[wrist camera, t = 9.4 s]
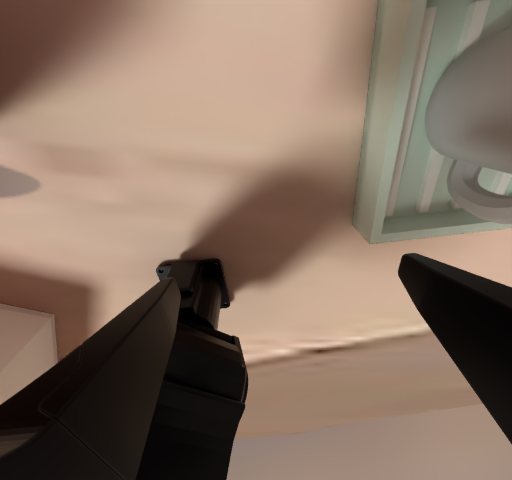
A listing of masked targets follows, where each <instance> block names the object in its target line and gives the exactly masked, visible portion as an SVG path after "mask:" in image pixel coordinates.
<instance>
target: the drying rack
mask: <svg viewBox="0 0 512 480" xmlns="http://www.w3.org/2000/svg"><path fill="white" fill-rule="evenodd" d="M510 28H512V0H379V1H378V10H377V18H376V27H375V35H374V44H373V52H372V61H371V69H370V78H369V86H368V95H367V103H366V112H365V120H364V129H363V137H362V146H361V155H360V163H359V172H358V180H357V189H356V197H355V206H354V214H353V223H352V225H353V226H354V227H355V228H356V230H357V231H358V232H359V233H360V234H361V235H362V236H363V237H364V238H365V239H366V241H367V242H368V243H369V244H375V243H383V242H392V241H401V240H410V239H419V238H428V237H437V236H446V235H455V234H464V233H472V232H481V231H490V230H499V229H508V228H512V224H499V223H495V222H491V221H486V220H483V219H481V218H479V217H476V216H474V215H472V214H470V213H468V212H467V211H466V210H465V209H463V208H462V207H461V206H460V205H458V204H457V203H456V202H455V201H454V200H453V199H452V197H451V195H450V194H449V192H448V188H447V176H448V173H449V169H450V167H451V165H452V163H453V161H454V159H451V158H449V157H446V156H443V155H440V154H439V153H438V152H437V151H435V150H434V149H433V148H432V147H431V145H430V143H429V141H428V139H427V135H426V128H425V116H426V108H427V105H428V102H429V100H430V97H431V94H432V92H433V90H434V88H435V87H436V85H437V83H438V81H439V80H440V78H441V77H442V75H443V74H444V73H445V71H446V70H447V69H448V68H449V67H450V65H451V64H452V63H453V62H454V60H455V59H456V58H458V57H459V56H460V55H461V54H462V53H463V52H465V51H466V50H467V49H468V48H469V47H470V46H472V45H474V44H475V43H477V42H479V41H480V40H482V39H484V38H486V37H487V36H490V35H492V34H495V33H498V32H500V31H504V30H507V29H510ZM478 182H479V185H480V186H481V187H482V188H484V189H486V190H487V191H490V192H493V193H496V194H500V195H507V196H512V174H509V173H505V172H501V171H497V170H493V169H489V168H485V167H483V168H482V170H481V171H480V173H479V176H478Z"/></svg>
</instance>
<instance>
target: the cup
mask: <svg viewBox="0 0 512 480" xmlns="http://www.w3.org/2000/svg"><path fill="white" fill-rule="evenodd" d="M425 128H426V135H427V139H428V141H429V143H430V145H431V147H432V148H433V149H434V150H435V151H437V152H438V153H439V154H440V155H443V156H446V157H449V158H451V159H454V161H453V163H452V165H451V167H450V169H449V173H448V176H447V188H448V192H449V194H450V195H451V197H452V199H453V200H454V201H455V202H456V203H457V204H458V205H460V206H461V207H462V208H463V209H465V210H466V211H467V212H468V213H470V214H472V215H474V216H476V217H479V218H481V219H483V220H486V221H491V222H495V223H499V224H512V196H507V195H500V194H496V193H493V192H490V191H487V190H486V189H484V188H482V187H481V186H480V185H479V182H478V176H479V173H480V171H481V170H482V168H483V167H485V168H489V169H493V170H497V171H501V172H505V173H509V174H512V28H510V29H507V30H504V31H500V32H498V33H495V34H492V35H490V36H487V37H486V38H484V39H482V40H480V41H479V42H477V43H475V44H474V45H472V46H470V47H469V48H468V49H467V50H466V51H465V52H463V53H462V54H461V55H460V56H459V57H458V58H456V59H455V60H454V62H453V63H452V64H451V65H450V67H449V68H448V69H447V70H446V71H445V73H444V74H443V75H442V77H441V78H440V80H439V81H438V83H437V85H436V87H435V88H434V90H433V92H432V94H431V97H430V100H429V102H428V105H427V108H426V116H425Z"/></svg>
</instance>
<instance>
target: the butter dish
mask: <svg viewBox="0 0 512 480" xmlns="http://www.w3.org/2000/svg"><path fill="white" fill-rule="evenodd" d="M57 363H58V357H57V343H56V330H55V317H54V314H50V313H45V312H40V311H35V310H30V309H25V308H20V307H15V306H10V305H5V304H0V405H1V404H2V403H3V402H5V401H6V400H8V399H9V398H10V397H12V396H13V395H14V394H16V393H17V392H19V391H20V390H21V389H23V388H24V387H26V386H27V385H28V384H30V383H31V382H32V381H34V380H35V379H37V378H38V377H39V376H41V375H42V374H43V373H45V372H46V371H47V370H49V369H50V368H51V367H53V366H54V365H55V364H57Z"/></svg>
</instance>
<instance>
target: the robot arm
mask: <svg viewBox="0 0 512 480" xmlns="http://www.w3.org/2000/svg"><path fill="white" fill-rule="evenodd" d="M214 263H217V264H218V265H215V264H214ZM160 269H162V270H163V271H161V270H160ZM156 273H157V275H158V277H159V280H160V282H158V283H157V284H156V285H155V286H153V287H152V288H151V289H150V290H148V291H147V292H146V293H145V294H143V295H142V296H141V297H140V298H138V299H137V300H136V301H135V302H133V303H132V304H131V305H130V306H128V307H127V308H126V309H125V310H123V311H122V312H121V313H120V314H118V315H117V316H116V317H115V318H113V319H112V320H111V321H110V322H108V323H107V324H106V325H105V326H103V327H102V328H101V329H100V330H98V331H97V332H96V333H95V334H93V335H92V336H91V337H90V338H88V339H87V340H86V341H85V342H83V343H82V345H79V346H78V347H77V348H76V349H74V350H73V351H72V352H71V353H69V354H68V355H67V356H66V357H64V358H63V359H62V360H60V361H59V362H58V363H57V364H55V365H54V366H53V367H51V368H50V369H49V370H47V371H46V372H45V373H43V374H42V375H41V376H39V377H38V378H37V379H35V380H34V381H32V382H31V383H30V384H28V385H27V386H26V387H24V388H23V389H21V390H20V391H19V392H17V393H16V394H14V395H13V396H12V397H10V398H9V399H8V400H6V401H5V402H3V403H2V404H1V405H0V480H226V479H227V473H228V467H229V462H230V456H231V451H232V446H233V441H234V437H235V434H236V431H237V427H238V424H239V421H240V419H241V417H242V414H243V412H244V409H245V400H246V396H247V390H248V374H247V369H246V365H245V361H244V357H243V353H242V349H241V345H240V341H239V338H238V337H236V336H230V335H228V334H225V333H222V332H220V331H217V328H218V320H219V313H220V309H221V308H228V307H229V306H230V298H229V294H228V289H227V285H226V281H225V277H224V272H223V268H222V264H221V261H220V260H219V259H208V260H199V261H198V260H194V261H185V262H176V263H173V264H164V265H159V266H158V267H157V269H156ZM398 275H399V278H400V280H401V281H402V283H403V285H404V287H405V288H406V290H407V292H408V294H409V296H410V297H411V299H412V301H413V303H414V305H415V306H416V308H417V310H418V311H419V313H420V314H421V316H422V317H423V319H424V320H425V321H426V323H427V324H428V326H429V327H430V328H431V330H432V331H433V333H434V334H435V336H436V337H437V338H438V340H439V341H440V343H441V344H442V346H443V347H444V348H445V350H446V351H447V353H448V354H449V356H450V357H451V358H452V360H453V361H454V363H455V364H456V366H457V367H458V368H459V370H460V371H461V373H462V374H463V375H464V377H465V378H466V380H467V381H468V383H469V384H470V385H471V387H472V388H473V390H474V391H475V393H476V394H477V395H478V397H479V398H480V400H481V401H482V403H483V404H484V405H485V407H486V408H487V410H488V411H489V412H490V414H491V415H492V417H493V418H494V420H495V421H496V423H497V424H498V425H499V427H500V428H501V430H502V431H503V432H504V434H505V435H506V437H507V438H508V440H509V441H510V442H511V444H512V287H509V286H506V285H503V284H500V283H498V282H495V281H492V280H489V279H486V278H484V277H481V276H478V275H475V274H473V273H470V272H467V271H464V270H461V269H459V268H456V267H453V266H450V265H447V264H445V263H442V262H439V261H436V260H433V259H431V258H428V257H425V256H422V255H419V254H417V253H409V254H404V255H403V256H402V258H401V262H400V266H399V269H398ZM225 303H227V304H225Z"/></svg>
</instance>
